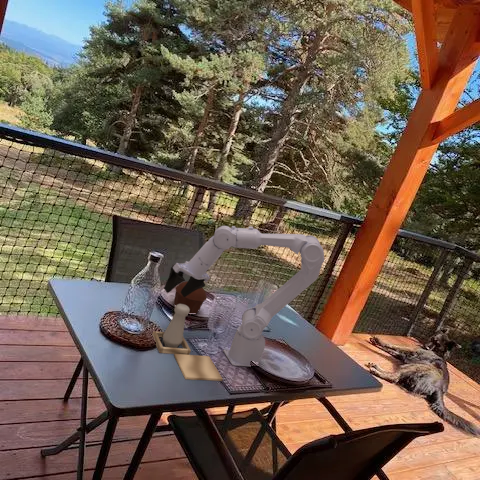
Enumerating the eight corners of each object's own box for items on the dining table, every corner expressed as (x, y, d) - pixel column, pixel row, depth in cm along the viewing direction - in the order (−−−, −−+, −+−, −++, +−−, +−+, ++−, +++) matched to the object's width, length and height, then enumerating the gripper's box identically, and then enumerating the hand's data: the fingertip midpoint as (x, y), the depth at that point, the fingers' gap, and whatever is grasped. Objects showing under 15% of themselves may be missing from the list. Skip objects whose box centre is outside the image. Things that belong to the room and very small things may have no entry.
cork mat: (208, 358, 135) (209, 356, 135) (222, 380, 126) (222, 378, 125) (173, 355, 130) (174, 353, 129) (185, 379, 120) (185, 377, 120)
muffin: (164, 301, 162) (172, 276, 160) (188, 301, 170) (196, 276, 168) (182, 318, 154) (191, 292, 152) (207, 317, 162) (216, 291, 160)
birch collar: (180, 338, 141) (181, 333, 140) (189, 355, 133) (190, 350, 132) (151, 335, 136) (153, 331, 136) (159, 352, 128) (160, 348, 128)
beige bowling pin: (175, 353, 131) (189, 313, 128) (157, 345, 132) (170, 305, 129) (182, 345, 137) (195, 306, 134) (165, 337, 138) (177, 299, 135)
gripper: (211, 256, 142) (183, 287, 144) (181, 244, 130) (151, 278, 133) (223, 272, 138) (194, 303, 140) (193, 260, 126) (162, 295, 129)
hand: (174, 292), depth 136 cm, fingers open, 7 cm apart
